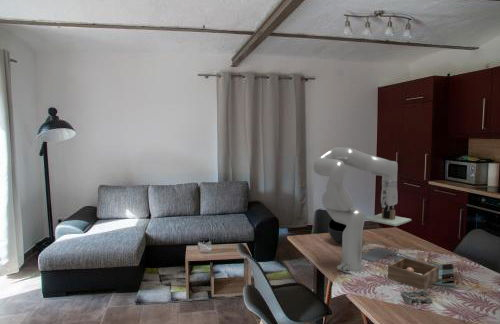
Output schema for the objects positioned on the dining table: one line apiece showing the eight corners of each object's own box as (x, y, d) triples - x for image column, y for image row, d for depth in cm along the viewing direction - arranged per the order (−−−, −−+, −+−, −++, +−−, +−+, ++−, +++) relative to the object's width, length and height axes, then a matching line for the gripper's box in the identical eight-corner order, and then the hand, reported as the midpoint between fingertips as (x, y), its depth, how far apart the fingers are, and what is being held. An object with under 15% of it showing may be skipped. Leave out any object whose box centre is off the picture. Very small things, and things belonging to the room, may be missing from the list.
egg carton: (426, 298, 138) (427, 289, 137) (433, 307, 130) (434, 297, 130) (399, 296, 139) (400, 286, 139) (404, 305, 132) (405, 295, 132)
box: (423, 292, 142) (424, 276, 142) (387, 280, 154) (388, 265, 154) (438, 281, 152) (439, 267, 152) (403, 271, 165) (404, 257, 164)
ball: (412, 277, 155) (412, 269, 155) (404, 274, 158) (404, 267, 158) (415, 275, 158) (415, 267, 157) (407, 272, 160) (408, 265, 160)
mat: (396, 269, 166) (396, 268, 166) (357, 257, 183) (357, 256, 183) (416, 259, 180) (416, 258, 180) (378, 248, 197) (378, 247, 197)
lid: (396, 226, 168) (396, 214, 168) (365, 219, 181) (365, 209, 181) (411, 220, 179) (411, 209, 178) (381, 215, 192) (381, 204, 191)
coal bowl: (349, 237, 219) (350, 209, 218) (367, 247, 200) (368, 216, 199) (322, 240, 214) (322, 211, 213) (338, 250, 195) (338, 218, 194)
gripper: (388, 186, 170) (387, 221, 172) (403, 183, 181) (402, 216, 182) (374, 184, 176) (373, 218, 178) (390, 181, 187) (389, 214, 188)
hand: (388, 217), depth 180 cm, fingers closed on lid, 3 cm apart
